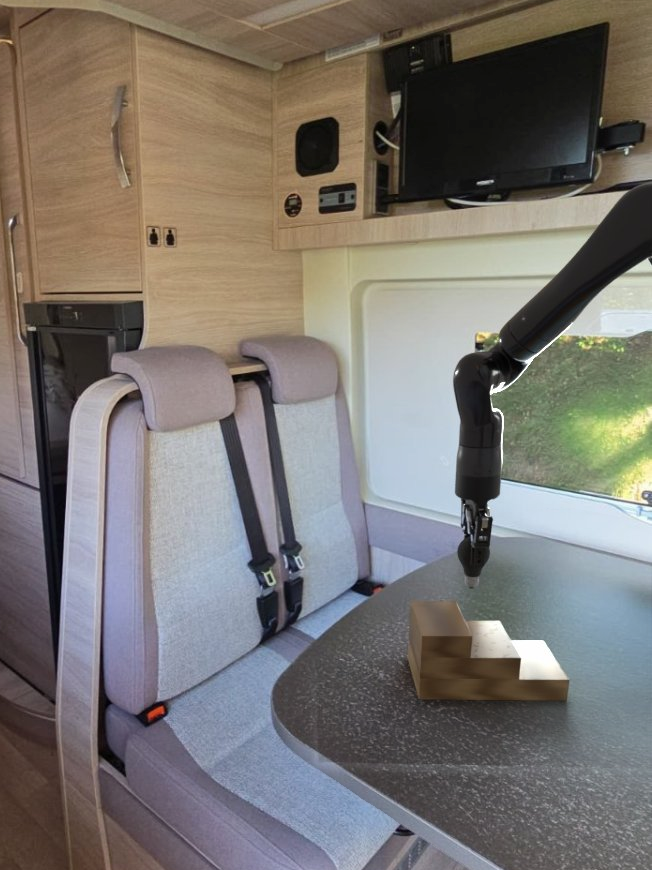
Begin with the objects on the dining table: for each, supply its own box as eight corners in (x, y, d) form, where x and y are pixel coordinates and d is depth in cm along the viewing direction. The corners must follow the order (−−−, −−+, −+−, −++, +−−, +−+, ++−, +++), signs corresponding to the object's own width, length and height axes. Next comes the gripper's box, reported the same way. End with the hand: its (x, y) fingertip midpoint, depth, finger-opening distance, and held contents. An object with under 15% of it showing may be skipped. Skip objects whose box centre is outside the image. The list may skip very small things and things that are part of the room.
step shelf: (541, 659, 115) (548, 600, 112) (566, 701, 104) (575, 636, 100) (407, 659, 118) (410, 600, 114) (418, 699, 106) (422, 636, 103)
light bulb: (469, 596, 129) (473, 544, 125) (449, 586, 134) (451, 535, 130) (494, 590, 131) (498, 538, 127) (472, 579, 136) (475, 529, 132)
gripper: (512, 479, 117) (504, 575, 123) (490, 459, 131) (485, 546, 137) (464, 481, 118) (459, 575, 124) (448, 460, 132) (444, 547, 137)
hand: (473, 559), depth 130 cm, fingers closed on light bulb, 5 cm apart
